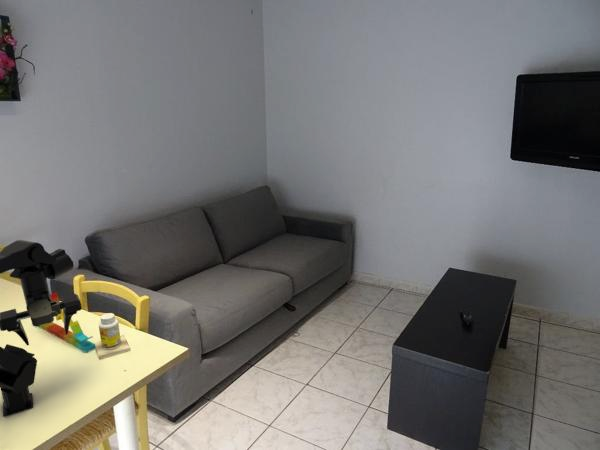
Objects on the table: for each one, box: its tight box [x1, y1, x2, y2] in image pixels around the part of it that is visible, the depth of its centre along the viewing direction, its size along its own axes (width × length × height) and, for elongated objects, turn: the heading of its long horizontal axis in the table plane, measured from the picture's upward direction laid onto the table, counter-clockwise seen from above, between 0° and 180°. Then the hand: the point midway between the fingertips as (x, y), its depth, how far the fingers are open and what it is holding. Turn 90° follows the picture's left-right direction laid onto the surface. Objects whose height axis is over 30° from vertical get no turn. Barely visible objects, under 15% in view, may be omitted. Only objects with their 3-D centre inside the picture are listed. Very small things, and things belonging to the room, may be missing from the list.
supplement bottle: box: [98, 312, 121, 349], centre depth 138 cm, size 6×6×10 cm
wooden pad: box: [93, 334, 131, 360], centre depth 140 cm, size 9×9×1 cm
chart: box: [37, 292, 96, 354], centre depth 145 cm, size 30×3×15 cm, turn 56°
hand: (47, 339), depth 121 cm, fingers open, 9 cm apart
